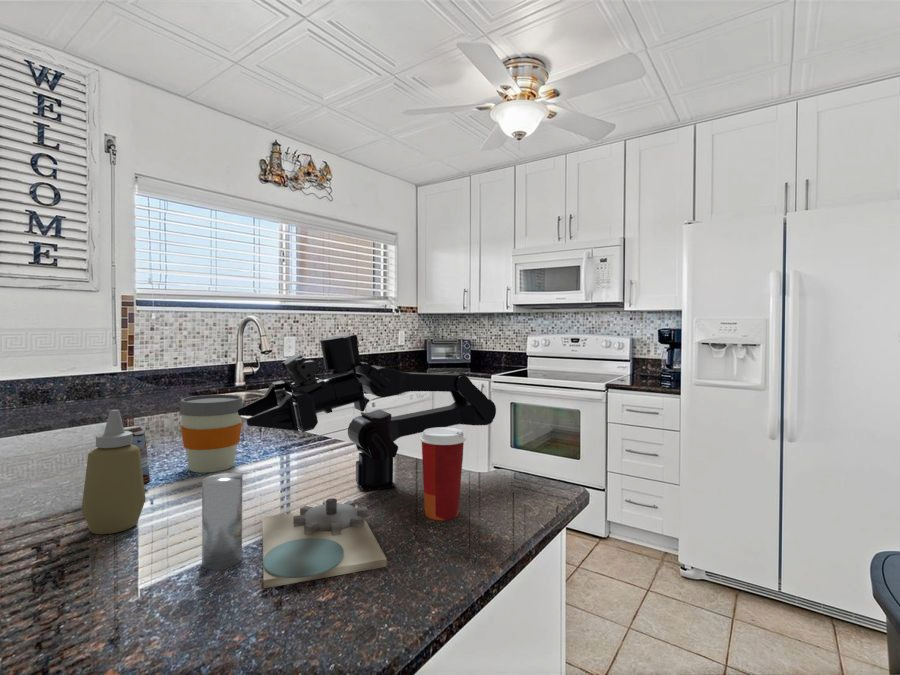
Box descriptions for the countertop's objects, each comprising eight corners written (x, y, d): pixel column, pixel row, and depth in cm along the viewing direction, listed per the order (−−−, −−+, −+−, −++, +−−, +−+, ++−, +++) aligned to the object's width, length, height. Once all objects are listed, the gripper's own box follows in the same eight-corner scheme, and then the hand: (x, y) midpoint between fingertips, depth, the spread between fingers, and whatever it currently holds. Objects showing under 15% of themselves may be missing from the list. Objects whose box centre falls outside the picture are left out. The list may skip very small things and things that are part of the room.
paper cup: (469, 509, 83) (471, 428, 82) (456, 526, 75) (457, 438, 75) (428, 502, 85) (429, 425, 85) (410, 519, 78) (411, 433, 78)
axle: (242, 550, 66) (243, 471, 66) (241, 566, 62) (242, 482, 62) (203, 555, 64) (204, 475, 64) (200, 572, 60) (200, 486, 60)
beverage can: (130, 498, 85) (130, 431, 85) (96, 494, 87) (96, 429, 86) (158, 486, 91) (159, 424, 91) (126, 483, 93) (126, 422, 92)
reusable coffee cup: (254, 464, 107) (255, 397, 106) (200, 479, 96) (200, 405, 96) (222, 455, 114) (222, 392, 113) (167, 468, 103) (167, 399, 103)
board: (359, 509, 82) (360, 484, 82) (393, 569, 62) (393, 537, 62) (262, 521, 76) (262, 495, 76) (263, 592, 56) (264, 557, 56)
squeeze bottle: (103, 517, 77) (103, 405, 76) (156, 516, 77) (156, 406, 77) (67, 539, 69) (67, 415, 68) (126, 538, 69) (126, 415, 69)
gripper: (308, 348, 96) (224, 366, 88) (339, 355, 80) (241, 377, 72) (318, 401, 97) (237, 423, 89) (351, 418, 82) (256, 447, 73)
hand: (242, 417), depth 81 cm, fingers open, 9 cm apart
